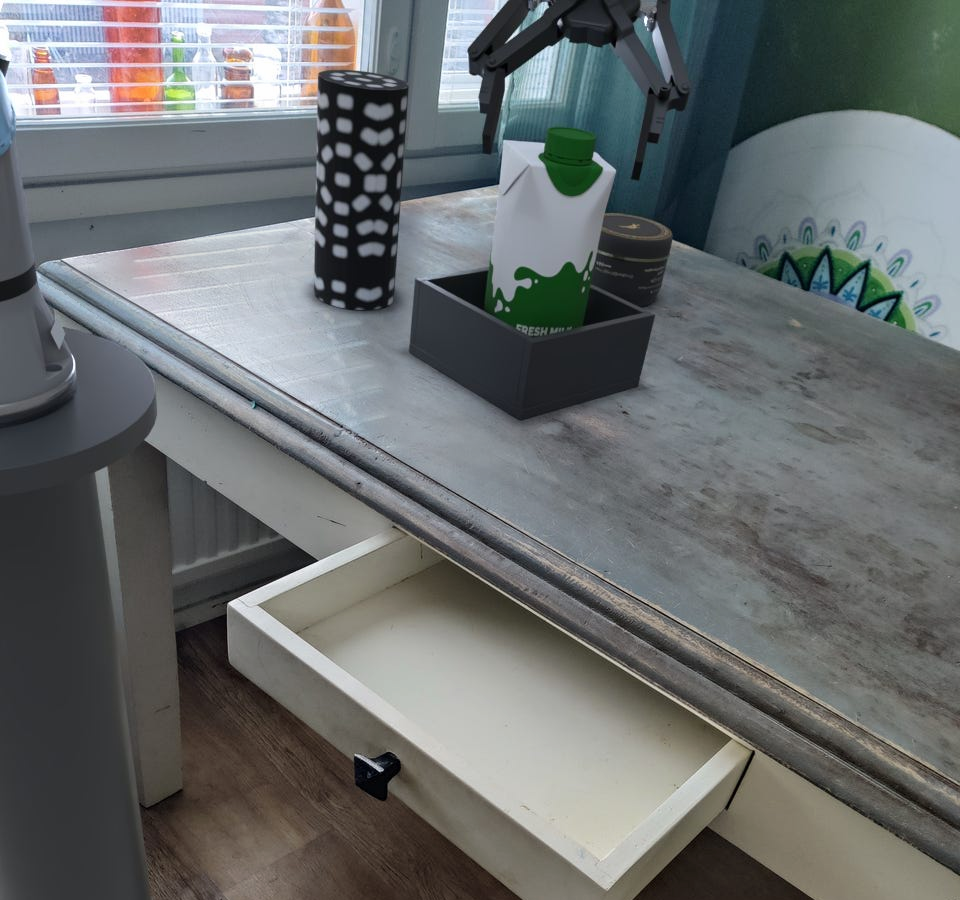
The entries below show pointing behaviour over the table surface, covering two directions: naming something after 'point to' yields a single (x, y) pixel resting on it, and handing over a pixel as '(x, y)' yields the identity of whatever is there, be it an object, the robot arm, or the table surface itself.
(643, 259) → the jar
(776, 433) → the table surface
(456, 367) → the basket
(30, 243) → the robot arm
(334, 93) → the white-spotted black cylinder
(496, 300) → the milk carton
